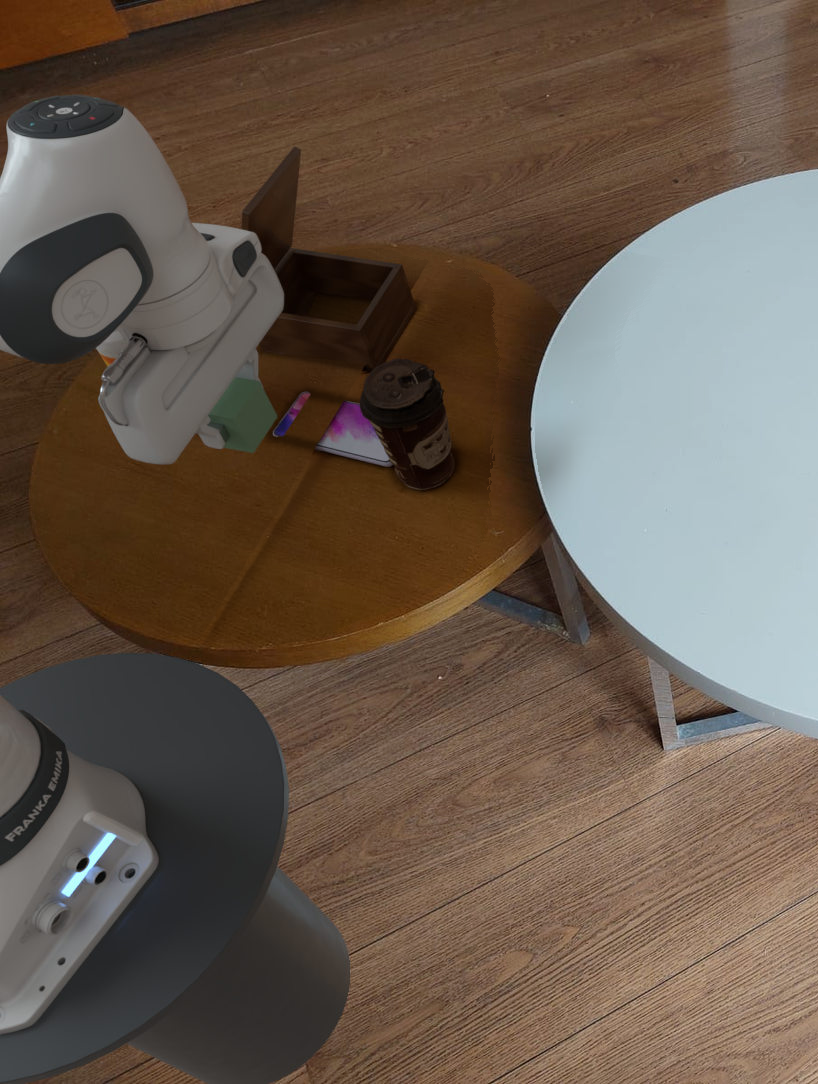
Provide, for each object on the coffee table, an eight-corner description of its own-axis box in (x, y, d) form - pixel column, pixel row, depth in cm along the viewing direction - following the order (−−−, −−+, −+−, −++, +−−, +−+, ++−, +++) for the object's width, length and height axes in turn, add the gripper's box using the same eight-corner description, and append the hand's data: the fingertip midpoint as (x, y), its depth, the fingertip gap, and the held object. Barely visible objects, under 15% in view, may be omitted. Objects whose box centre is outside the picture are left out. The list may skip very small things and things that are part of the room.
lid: (301, 149, 120) (294, 145, 119) (249, 214, 113) (241, 211, 113) (292, 245, 132) (285, 242, 132) (244, 309, 125) (237, 306, 125)
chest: (416, 308, 135) (402, 264, 130) (376, 373, 129) (359, 330, 123) (308, 291, 138) (290, 247, 132) (264, 355, 131) (242, 311, 126)
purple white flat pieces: (390, 464, 119) (269, 435, 122) (392, 470, 120) (272, 440, 123) (420, 417, 123) (302, 389, 126) (422, 422, 124) (305, 394, 127)
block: (253, 453, 96) (233, 418, 92) (207, 445, 97) (186, 409, 93) (278, 416, 99) (259, 380, 95) (233, 408, 99) (213, 372, 96)
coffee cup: (479, 446, 122) (454, 360, 111) (451, 504, 117) (422, 419, 106) (405, 434, 123) (374, 348, 112) (375, 490, 118) (339, 405, 108)
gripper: (129, 397, 79) (207, 515, 90) (266, 220, 91) (320, 344, 102) (53, 383, 80) (139, 501, 91) (198, 210, 92) (259, 334, 103)
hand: (236, 417), depth 96 cm, fingers closed on block, 4 cm apart
